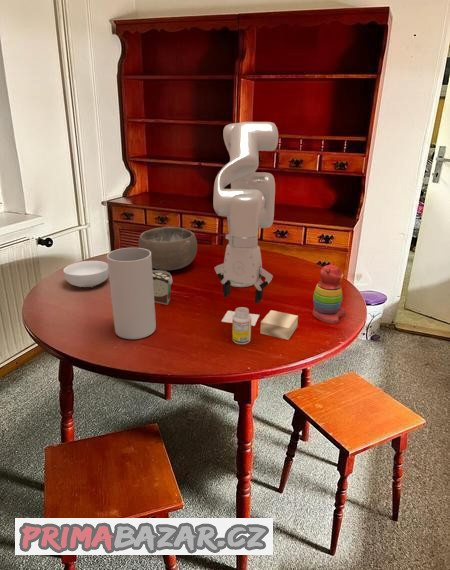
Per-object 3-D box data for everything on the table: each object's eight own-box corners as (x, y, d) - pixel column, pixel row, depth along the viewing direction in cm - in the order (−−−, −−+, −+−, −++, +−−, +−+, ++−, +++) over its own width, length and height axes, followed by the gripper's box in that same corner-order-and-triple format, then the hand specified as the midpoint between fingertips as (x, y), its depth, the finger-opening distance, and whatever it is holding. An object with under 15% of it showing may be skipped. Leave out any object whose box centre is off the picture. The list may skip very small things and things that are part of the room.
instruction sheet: (221, 321, 140) (221, 321, 140) (227, 311, 147) (227, 310, 147) (254, 326, 137) (254, 325, 137) (259, 315, 144) (259, 314, 144)
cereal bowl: (116, 277, 175) (115, 260, 172) (101, 293, 160) (99, 276, 157) (76, 275, 176) (74, 259, 174) (58, 291, 161) (55, 274, 158)
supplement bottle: (239, 333, 132) (240, 303, 128) (254, 339, 129) (255, 309, 125) (228, 341, 129) (228, 310, 125) (242, 347, 125) (243, 315, 121)
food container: (180, 298, 156) (179, 273, 152) (171, 305, 151) (169, 279, 147) (151, 292, 161) (149, 267, 157) (141, 299, 155) (139, 273, 152)
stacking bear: (336, 325, 138) (342, 273, 131) (306, 317, 143) (311, 267, 136) (346, 312, 146) (353, 263, 139) (318, 305, 151) (323, 257, 144)
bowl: (156, 255, 200) (154, 223, 194) (205, 261, 193) (205, 228, 187) (130, 273, 179) (127, 238, 173) (184, 280, 172) (183, 244, 166)
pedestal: (260, 333, 133) (260, 321, 131) (270, 321, 140) (271, 310, 139) (288, 339, 129) (289, 328, 128) (297, 327, 137) (298, 315, 135)
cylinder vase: (134, 317, 142) (127, 245, 132) (164, 327, 136) (159, 252, 127) (106, 333, 132) (97, 256, 122) (137, 344, 126) (131, 264, 117)
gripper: (209, 240, 117) (209, 298, 123) (268, 248, 110) (266, 309, 116) (221, 233, 123) (221, 289, 130) (278, 241, 116) (275, 299, 123)
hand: (242, 298), depth 123 cm, fingers open, 9 cm apart
